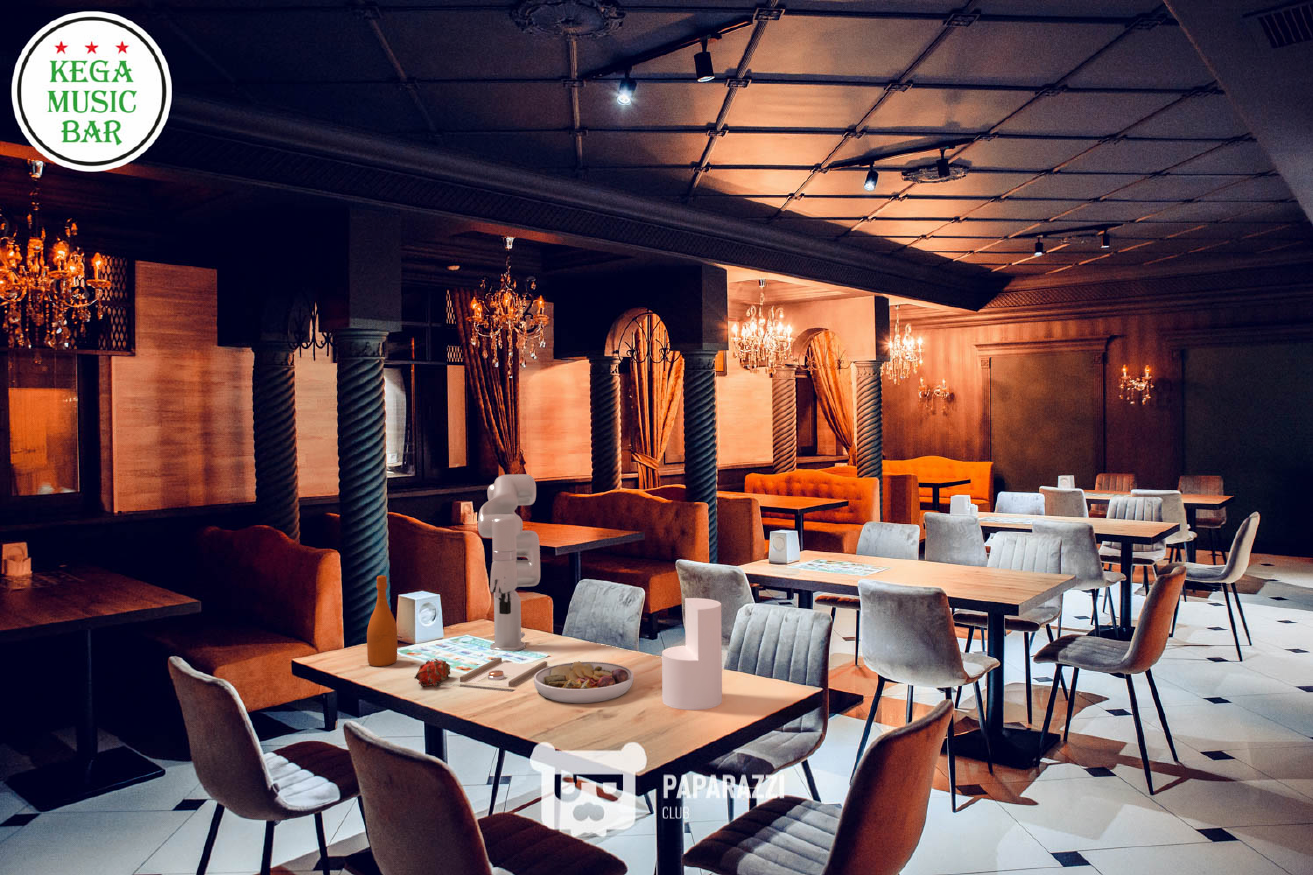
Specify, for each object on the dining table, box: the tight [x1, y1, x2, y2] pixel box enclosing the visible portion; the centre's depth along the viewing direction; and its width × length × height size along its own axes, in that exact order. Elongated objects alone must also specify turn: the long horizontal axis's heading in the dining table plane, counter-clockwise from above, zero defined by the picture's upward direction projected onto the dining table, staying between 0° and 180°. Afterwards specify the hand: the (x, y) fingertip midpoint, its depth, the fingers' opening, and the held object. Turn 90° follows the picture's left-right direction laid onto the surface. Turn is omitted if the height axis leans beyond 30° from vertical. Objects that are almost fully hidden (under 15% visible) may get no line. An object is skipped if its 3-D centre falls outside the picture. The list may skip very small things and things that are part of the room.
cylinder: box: [661, 597, 723, 711], centre depth 247 cm, size 17×17×28 cm
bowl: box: [533, 660, 635, 704], centre depth 258 cm, size 30×30×8 cm
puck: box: [487, 670, 505, 681], centre depth 267 cm, size 5×5×3 cm
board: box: [459, 657, 548, 693], centre depth 271 cm, size 24×18×3 cm
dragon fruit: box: [414, 658, 451, 688], centre depth 265 cm, size 8×8×12 cm
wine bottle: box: [366, 574, 398, 667], centre depth 290 cm, size 10×10×30 cm
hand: (505, 613), depth 272 cm, fingers closed
